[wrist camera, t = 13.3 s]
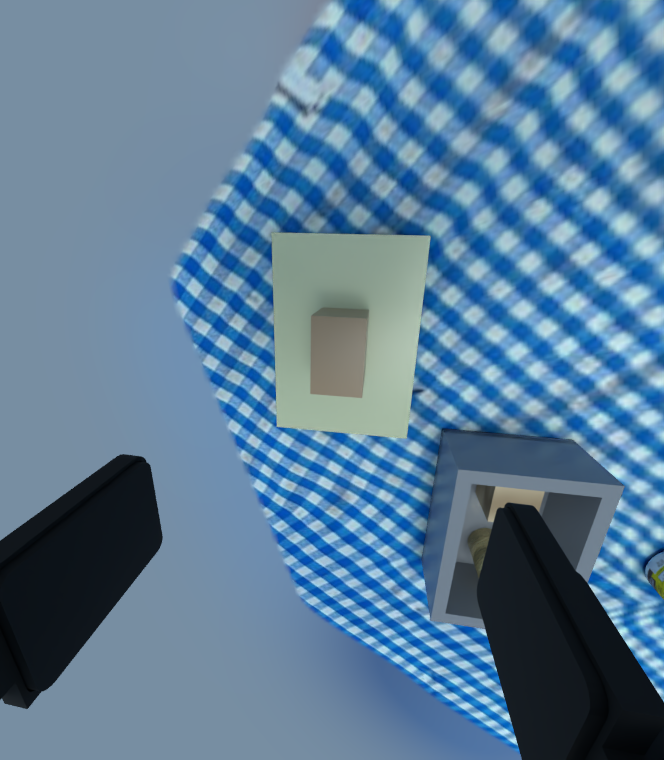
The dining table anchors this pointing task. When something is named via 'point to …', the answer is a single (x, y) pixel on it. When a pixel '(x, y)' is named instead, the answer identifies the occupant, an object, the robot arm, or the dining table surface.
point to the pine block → (505, 498)
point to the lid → (347, 330)
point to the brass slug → (478, 546)
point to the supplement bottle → (656, 573)
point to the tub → (511, 470)
